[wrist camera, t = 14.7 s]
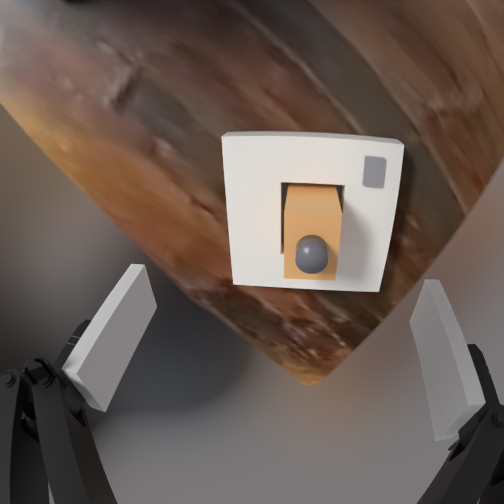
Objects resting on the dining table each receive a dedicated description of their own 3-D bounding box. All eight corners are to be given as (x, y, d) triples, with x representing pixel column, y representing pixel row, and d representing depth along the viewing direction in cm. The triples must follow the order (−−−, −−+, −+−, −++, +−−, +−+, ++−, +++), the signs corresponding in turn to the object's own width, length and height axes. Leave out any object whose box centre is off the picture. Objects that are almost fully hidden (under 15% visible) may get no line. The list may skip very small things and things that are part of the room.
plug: (288, 237, 37) (282, 291, 29) (289, 181, 33) (282, 222, 25) (331, 239, 36) (336, 293, 28) (334, 183, 33) (344, 224, 24)
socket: (238, 270, 41) (232, 286, 39) (228, 131, 32) (220, 137, 29) (374, 277, 39) (379, 294, 36) (396, 138, 29) (405, 145, 26)
